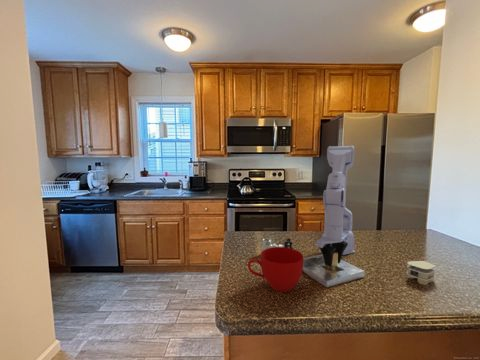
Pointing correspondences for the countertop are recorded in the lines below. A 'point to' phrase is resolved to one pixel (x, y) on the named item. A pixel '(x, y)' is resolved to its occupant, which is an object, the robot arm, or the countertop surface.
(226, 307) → the countertop surface
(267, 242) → the valve
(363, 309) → the countertop surface
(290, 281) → the ceramic cup
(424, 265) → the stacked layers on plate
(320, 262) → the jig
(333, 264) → the brass cylinder
